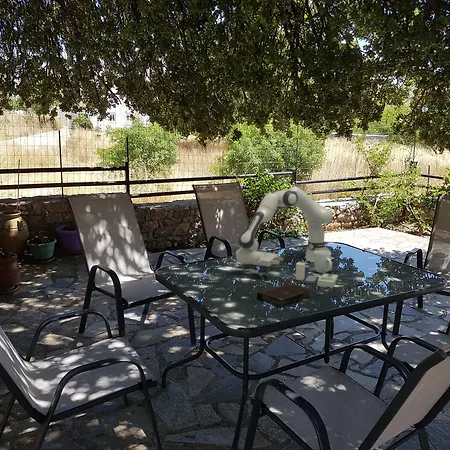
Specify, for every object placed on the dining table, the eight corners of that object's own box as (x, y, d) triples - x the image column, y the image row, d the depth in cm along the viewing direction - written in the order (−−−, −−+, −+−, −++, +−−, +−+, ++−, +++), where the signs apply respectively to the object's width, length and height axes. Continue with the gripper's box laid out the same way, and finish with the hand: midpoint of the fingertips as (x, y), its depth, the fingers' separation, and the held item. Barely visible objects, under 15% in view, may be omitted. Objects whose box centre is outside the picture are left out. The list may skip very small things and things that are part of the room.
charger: (297, 277, 279) (298, 260, 277) (304, 278, 277) (305, 261, 275) (295, 279, 275) (296, 262, 273) (303, 280, 273) (303, 262, 271)
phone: (308, 276, 280) (308, 274, 280) (318, 278, 278) (318, 276, 278) (304, 282, 268) (304, 280, 268) (314, 283, 266) (314, 281, 266)
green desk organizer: (323, 276, 282) (323, 271, 281) (337, 278, 278) (338, 272, 278) (317, 286, 262) (317, 280, 261) (332, 288, 258) (333, 282, 258)
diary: (256, 299, 240) (256, 290, 239) (286, 290, 256) (287, 281, 255) (282, 308, 226) (282, 299, 225) (312, 298, 242) (313, 289, 242)
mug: (337, 274, 286) (338, 255, 284) (324, 276, 281) (325, 256, 279) (323, 268, 299) (323, 250, 297) (309, 270, 294) (310, 251, 292)
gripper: (255, 257, 273) (276, 259, 268) (264, 250, 292) (285, 252, 287) (254, 267, 274) (276, 269, 269) (264, 260, 293) (284, 262, 288)
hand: (281, 261), depth 278 cm, fingers open, 8 cm apart
